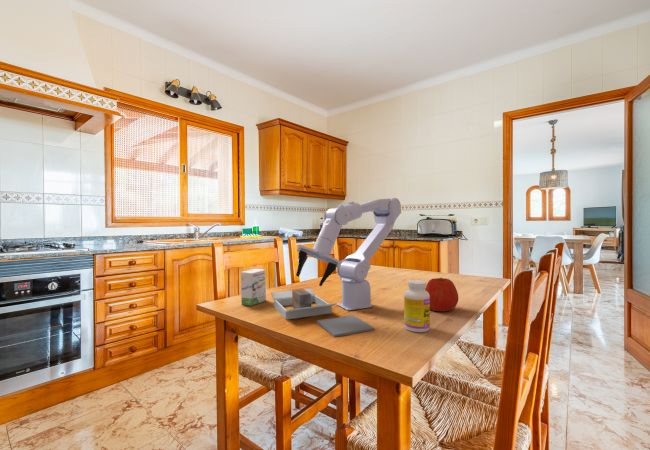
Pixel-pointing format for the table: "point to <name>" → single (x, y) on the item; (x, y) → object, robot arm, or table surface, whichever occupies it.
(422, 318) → the supplement bottle
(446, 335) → the table surface
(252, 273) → the ink box
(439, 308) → the apple
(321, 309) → the grey shallow open piece
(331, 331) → the mat
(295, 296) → the block
